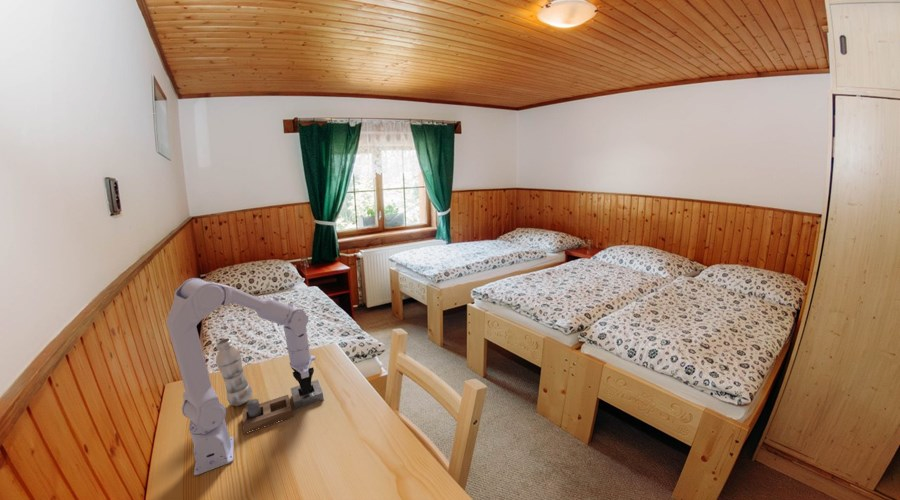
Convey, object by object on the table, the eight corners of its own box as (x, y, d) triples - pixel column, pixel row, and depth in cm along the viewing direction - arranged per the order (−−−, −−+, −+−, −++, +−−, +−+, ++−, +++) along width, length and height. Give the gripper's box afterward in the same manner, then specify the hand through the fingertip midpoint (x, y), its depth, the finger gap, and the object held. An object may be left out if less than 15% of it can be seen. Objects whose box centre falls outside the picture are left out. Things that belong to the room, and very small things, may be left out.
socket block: (323, 400, 112) (322, 392, 111) (295, 409, 108) (293, 402, 108) (319, 386, 119) (317, 379, 118) (291, 395, 115) (290, 388, 115)
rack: (292, 417, 105) (289, 398, 104) (244, 434, 100) (240, 414, 98) (289, 401, 112) (286, 384, 111) (244, 416, 107) (240, 398, 105)
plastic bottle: (258, 394, 116) (241, 335, 112) (244, 408, 110) (225, 346, 105) (239, 395, 117) (221, 336, 113) (224, 409, 111) (204, 348, 106)
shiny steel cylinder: (313, 398, 113) (308, 371, 111) (303, 402, 112) (298, 375, 109) (312, 393, 116) (307, 367, 113) (301, 396, 114) (296, 370, 112)
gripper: (316, 353, 105) (324, 395, 108) (308, 333, 117) (315, 372, 121) (289, 360, 102) (298, 404, 105) (284, 339, 114) (292, 379, 118)
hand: (305, 387), depth 113 cm, fingers closed on shiny steel cylinder, 3 cm apart
